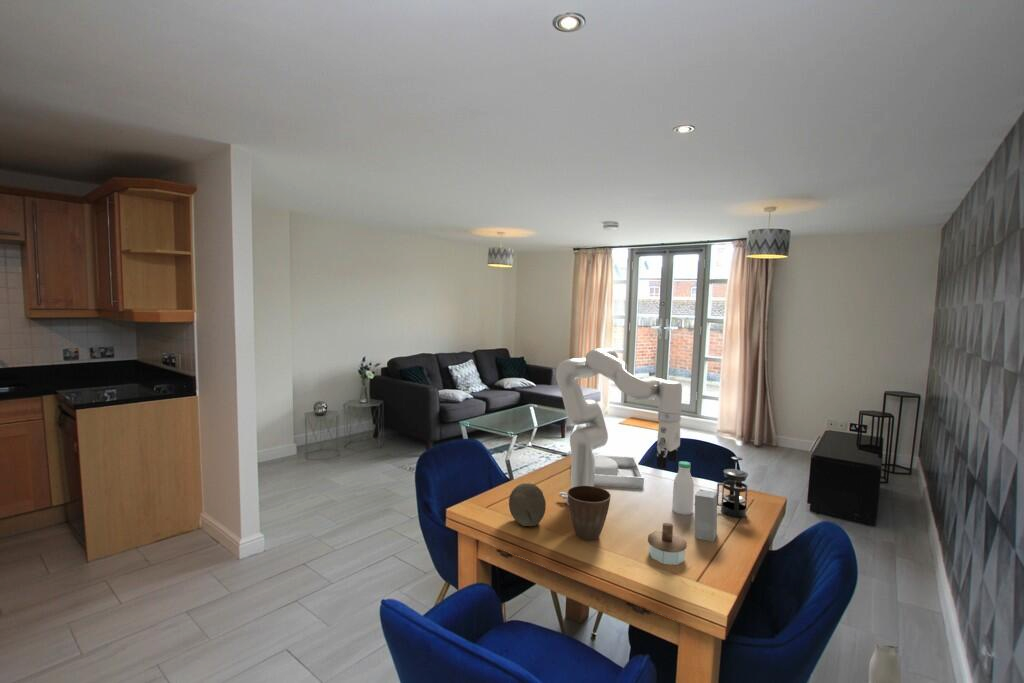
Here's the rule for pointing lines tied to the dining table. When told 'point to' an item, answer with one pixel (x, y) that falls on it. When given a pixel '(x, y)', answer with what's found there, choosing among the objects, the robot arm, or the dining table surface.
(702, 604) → the dining table surface
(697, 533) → the skincare box
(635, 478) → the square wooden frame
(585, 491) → the plant pot
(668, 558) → the bowl
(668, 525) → the lid
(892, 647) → the glass bottle
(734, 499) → the french press
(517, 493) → the grey stone egg
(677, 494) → the milk bottle
